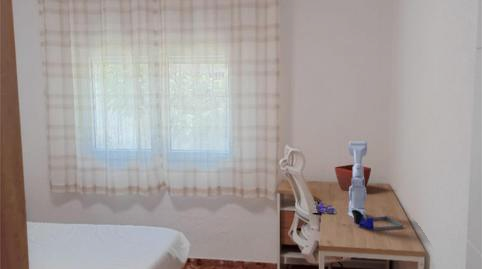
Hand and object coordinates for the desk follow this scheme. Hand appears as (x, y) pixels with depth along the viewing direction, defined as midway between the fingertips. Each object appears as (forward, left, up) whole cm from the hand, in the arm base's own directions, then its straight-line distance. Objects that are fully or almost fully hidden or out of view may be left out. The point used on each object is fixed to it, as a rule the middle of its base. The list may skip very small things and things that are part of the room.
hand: (357, 223), depth 219 cm
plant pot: (-79, +34, -2) cm, 86 cm away
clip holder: (0, +13, -1) cm, 13 cm away
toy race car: (-30, -8, -2) cm, 31 cm away
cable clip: (0, +3, -2) cm, 4 cm away
